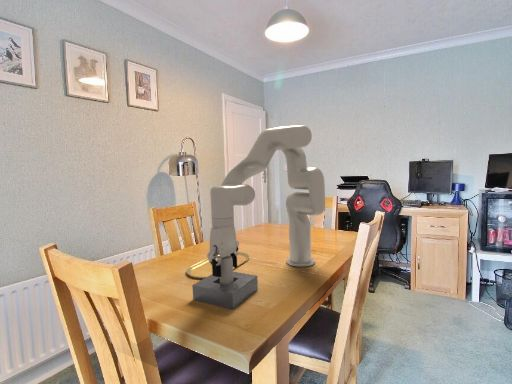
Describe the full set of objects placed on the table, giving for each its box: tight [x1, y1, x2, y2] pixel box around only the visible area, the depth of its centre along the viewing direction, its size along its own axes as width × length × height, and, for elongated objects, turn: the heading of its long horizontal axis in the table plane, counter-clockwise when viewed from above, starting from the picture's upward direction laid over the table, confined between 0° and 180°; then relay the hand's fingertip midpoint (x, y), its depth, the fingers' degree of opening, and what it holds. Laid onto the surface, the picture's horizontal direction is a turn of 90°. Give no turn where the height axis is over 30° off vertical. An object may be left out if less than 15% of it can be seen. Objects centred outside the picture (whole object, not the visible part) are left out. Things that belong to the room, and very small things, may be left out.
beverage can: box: [219, 255, 234, 285], centre depth 99 cm, size 5×5×12 cm
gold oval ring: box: [186, 251, 250, 280], centre depth 130 cm, size 19×35×2 cm, turn 153°
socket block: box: [192, 271, 259, 310], centre depth 99 cm, size 16×16×5 cm
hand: (225, 271), depth 99 cm, fingers open, 9 cm apart
